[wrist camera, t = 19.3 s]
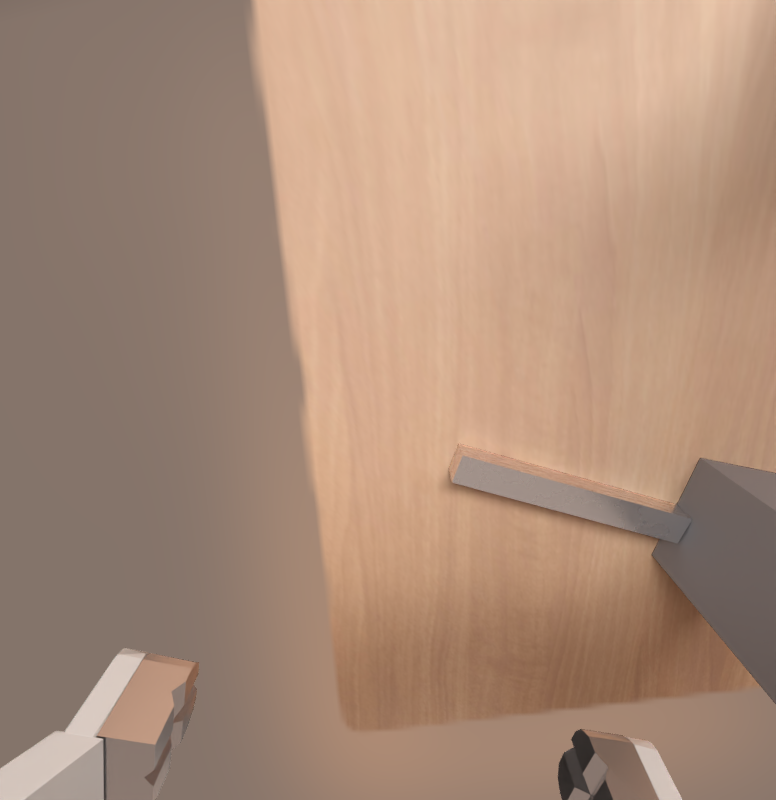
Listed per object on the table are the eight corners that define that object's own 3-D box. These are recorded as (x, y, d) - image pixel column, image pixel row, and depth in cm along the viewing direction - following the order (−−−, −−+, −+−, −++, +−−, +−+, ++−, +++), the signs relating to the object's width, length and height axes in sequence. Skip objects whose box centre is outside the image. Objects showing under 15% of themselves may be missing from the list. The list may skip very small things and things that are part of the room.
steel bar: (677, 543, 45) (660, 525, 48) (692, 519, 44) (674, 502, 47) (451, 482, 42) (448, 467, 45) (462, 455, 42) (458, 441, 44)
